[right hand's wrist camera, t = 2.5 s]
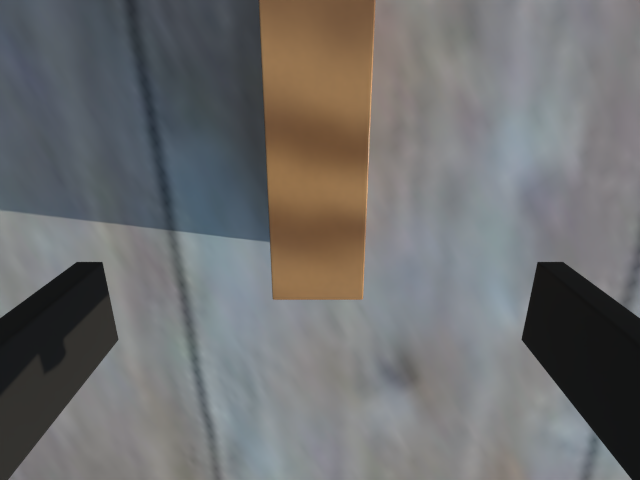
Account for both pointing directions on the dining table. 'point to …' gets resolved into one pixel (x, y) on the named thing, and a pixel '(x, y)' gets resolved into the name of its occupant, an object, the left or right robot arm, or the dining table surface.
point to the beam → (317, 143)
